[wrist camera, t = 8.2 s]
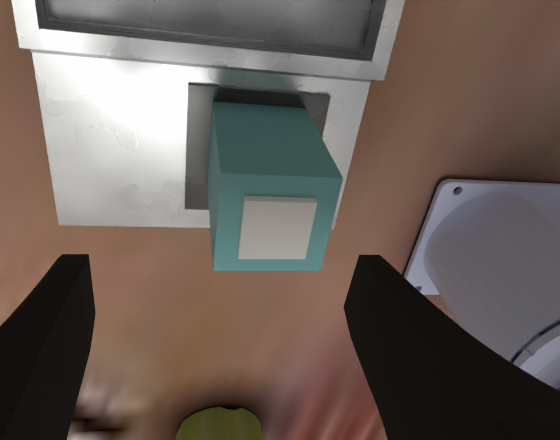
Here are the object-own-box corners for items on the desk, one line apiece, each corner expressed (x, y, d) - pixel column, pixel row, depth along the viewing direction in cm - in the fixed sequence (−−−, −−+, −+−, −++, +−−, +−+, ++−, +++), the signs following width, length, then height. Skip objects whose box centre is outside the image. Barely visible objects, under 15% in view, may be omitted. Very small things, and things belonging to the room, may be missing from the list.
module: (305, 108, 20) (345, 183, 15) (291, 188, 22) (322, 276, 17) (212, 101, 19) (221, 178, 14) (207, 184, 22) (213, 276, 16)
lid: (368, 64, 20) (375, 70, 20) (330, 222, 25) (334, 232, 24) (34, 31, 18) (28, 38, 17) (61, 216, 22) (57, 227, 22)
